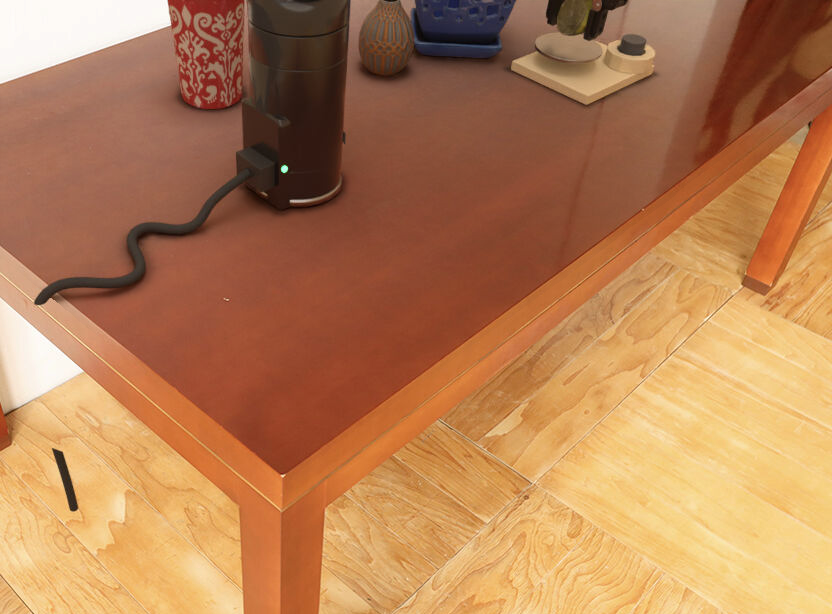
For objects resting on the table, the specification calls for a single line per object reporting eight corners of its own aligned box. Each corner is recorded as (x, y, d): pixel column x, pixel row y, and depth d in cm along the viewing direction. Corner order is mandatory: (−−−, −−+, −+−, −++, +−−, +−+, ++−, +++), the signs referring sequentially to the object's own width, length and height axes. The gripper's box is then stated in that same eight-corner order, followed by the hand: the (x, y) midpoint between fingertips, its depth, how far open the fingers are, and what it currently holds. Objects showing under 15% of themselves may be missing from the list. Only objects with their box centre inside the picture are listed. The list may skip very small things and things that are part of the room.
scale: (589, 106, 103) (595, 83, 101) (510, 69, 110) (514, 46, 107) (657, 74, 110) (664, 51, 108) (579, 41, 116) (584, 19, 114)
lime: (581, 44, 104) (592, 3, 100) (545, 34, 106) (555, -8, 102) (596, 33, 106) (607, -8, 103) (561, 22, 108) (570, -18, 105)
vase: (411, 59, 111) (419, -11, 105) (410, 83, 106) (418, 11, 100) (358, 55, 111) (363, -15, 105) (355, 79, 106) (359, 7, 100)
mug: (228, 120, 98) (223, 0, 88) (160, 103, 100) (147, -16, 91) (275, 76, 106) (274, -39, 97) (210, 61, 108) (203, -52, 99)
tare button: (633, 59, 107) (637, 46, 105) (613, 51, 108) (617, 37, 107) (647, 53, 108) (651, 39, 107) (627, 45, 110) (631, 31, 108)
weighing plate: (574, 69, 103) (575, 66, 103) (520, 46, 108) (521, 43, 107) (615, 52, 107) (616, 48, 107) (562, 29, 112) (562, 26, 111)
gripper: (536, -133, 96) (508, 19, 108) (644, -101, 88) (601, 59, 100) (577, -143, 99) (545, 5, 111) (684, -113, 92) (638, 43, 104)
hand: (572, 30), depth 106 cm, fingers closed on lime, 5 cm apart
